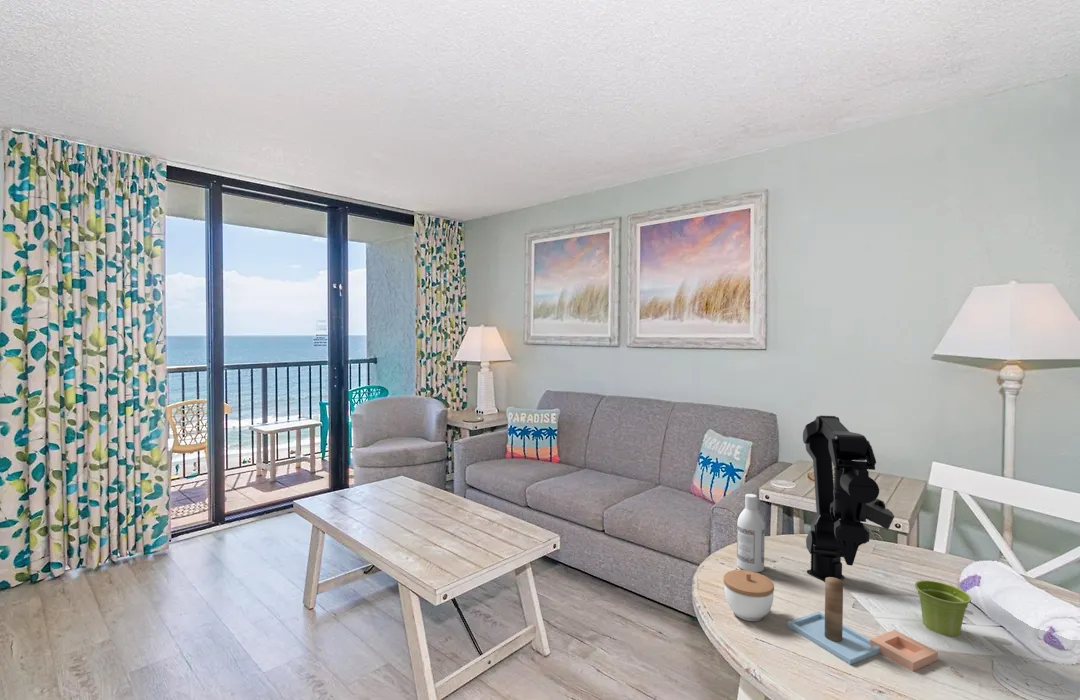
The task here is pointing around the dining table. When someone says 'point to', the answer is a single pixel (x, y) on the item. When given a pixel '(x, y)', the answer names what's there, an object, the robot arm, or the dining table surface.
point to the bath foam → (750, 537)
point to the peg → (833, 609)
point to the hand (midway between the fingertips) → (847, 556)
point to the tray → (847, 650)
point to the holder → (904, 650)
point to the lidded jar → (748, 594)
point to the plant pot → (942, 606)
